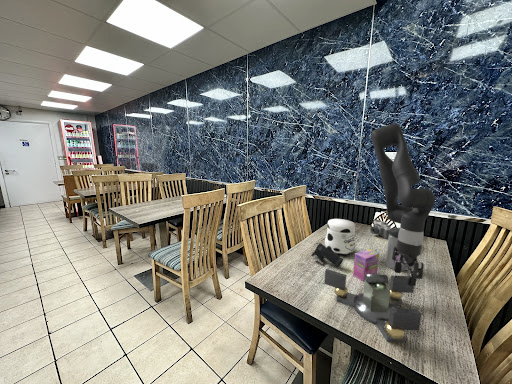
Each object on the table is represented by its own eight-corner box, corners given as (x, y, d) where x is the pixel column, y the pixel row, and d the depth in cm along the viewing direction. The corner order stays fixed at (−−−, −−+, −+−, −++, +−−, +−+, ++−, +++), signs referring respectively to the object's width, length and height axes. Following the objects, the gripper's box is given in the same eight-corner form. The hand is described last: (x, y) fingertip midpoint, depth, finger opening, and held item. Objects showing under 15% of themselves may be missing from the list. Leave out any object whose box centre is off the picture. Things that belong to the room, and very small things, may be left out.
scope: (331, 274, 102) (341, 259, 99) (309, 255, 110) (318, 241, 107) (337, 270, 108) (346, 256, 105) (316, 252, 116) (324, 239, 113)
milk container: (356, 259, 113) (359, 229, 109) (324, 254, 118) (326, 225, 115) (352, 246, 129) (354, 219, 126) (324, 242, 134) (326, 217, 131)
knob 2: (390, 339, 61) (394, 315, 59) (382, 326, 65) (384, 304, 64) (421, 341, 60) (425, 317, 59) (410, 327, 65) (414, 305, 63)
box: (363, 281, 92) (365, 258, 90) (352, 275, 97) (354, 253, 95) (377, 275, 97) (379, 253, 95) (366, 269, 102) (368, 248, 100)
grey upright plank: (348, 291, 82) (349, 273, 80) (346, 298, 78) (347, 279, 76) (326, 284, 87) (327, 267, 85) (323, 290, 83) (324, 272, 81)
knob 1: (391, 299, 78) (393, 280, 76) (384, 291, 82) (386, 273, 81) (415, 300, 77) (418, 281, 75) (406, 292, 82) (409, 274, 80)
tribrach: (394, 296, 83) (398, 265, 80) (437, 344, 61) (445, 304, 59) (332, 293, 84) (335, 262, 82) (354, 339, 63) (357, 300, 61)
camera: (364, 230, 156) (366, 218, 154) (377, 230, 156) (378, 218, 155) (377, 238, 141) (379, 225, 139) (391, 238, 141) (393, 225, 139)
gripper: (388, 232, 83) (384, 268, 86) (412, 248, 69) (405, 289, 72) (408, 233, 82) (402, 269, 85) (435, 249, 68) (427, 291, 71)
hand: (403, 278), depth 78 cm, fingers open, 8 cm apart
